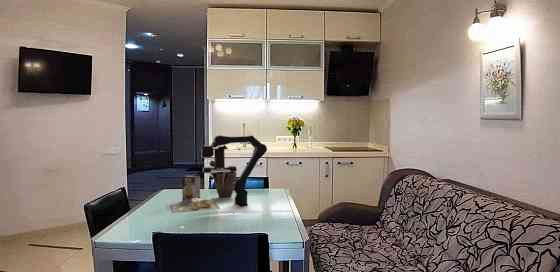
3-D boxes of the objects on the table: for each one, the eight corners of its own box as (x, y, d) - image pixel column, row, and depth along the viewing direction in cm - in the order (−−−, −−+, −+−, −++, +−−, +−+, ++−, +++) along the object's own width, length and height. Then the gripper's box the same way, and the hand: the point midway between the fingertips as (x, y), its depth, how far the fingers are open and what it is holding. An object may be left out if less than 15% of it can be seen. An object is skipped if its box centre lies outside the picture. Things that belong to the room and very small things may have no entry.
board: (214, 203, 234) (214, 201, 234) (220, 210, 215) (220, 208, 215) (169, 206, 226) (169, 205, 226) (171, 214, 207) (171, 212, 207)
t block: (209, 203, 228) (209, 197, 228) (211, 207, 218) (211, 200, 218) (191, 205, 225) (191, 198, 224) (193, 208, 215) (193, 201, 215)
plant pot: (241, 196, 253) (241, 172, 252) (226, 200, 241) (226, 175, 240) (224, 194, 261) (223, 170, 260) (208, 198, 249) (208, 173, 248)
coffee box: (182, 202, 236) (181, 176, 235) (188, 200, 242) (187, 174, 241) (194, 203, 233) (194, 177, 232) (200, 201, 239) (200, 175, 238)
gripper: (232, 155, 234) (233, 181, 235) (201, 156, 228) (201, 183, 229) (236, 157, 224) (236, 184, 224) (203, 158, 218) (204, 186, 218)
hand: (219, 184), depth 224 cm, fingers open, 4 cm apart
